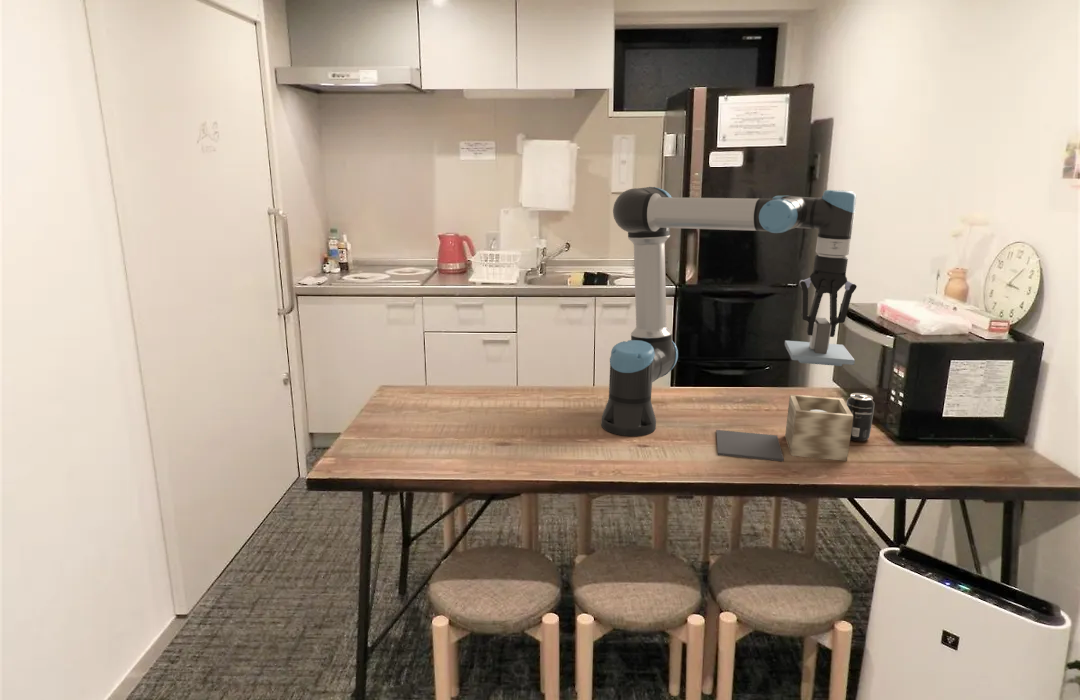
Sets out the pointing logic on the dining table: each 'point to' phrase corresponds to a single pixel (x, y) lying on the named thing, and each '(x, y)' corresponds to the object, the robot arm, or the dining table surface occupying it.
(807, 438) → the box
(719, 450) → the mat
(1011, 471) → the dining table surface
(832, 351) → the lid
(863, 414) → the beverage can
